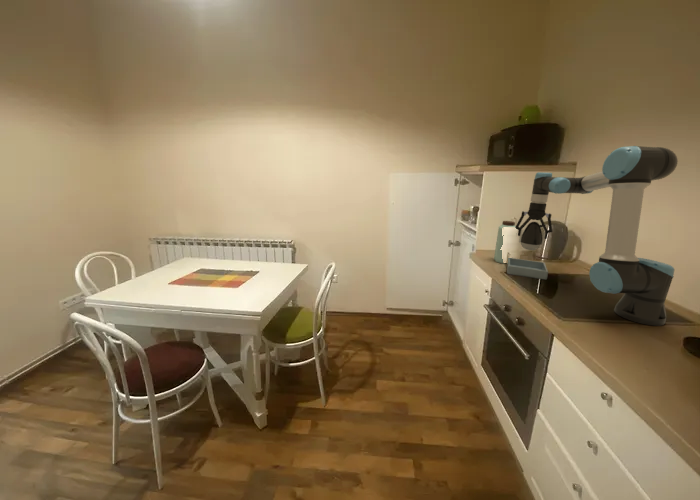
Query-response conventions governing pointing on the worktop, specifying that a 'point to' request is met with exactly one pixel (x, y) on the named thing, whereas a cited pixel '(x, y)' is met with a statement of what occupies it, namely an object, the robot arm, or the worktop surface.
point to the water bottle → (501, 240)
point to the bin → (527, 268)
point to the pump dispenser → (532, 236)
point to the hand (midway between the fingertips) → (530, 243)
